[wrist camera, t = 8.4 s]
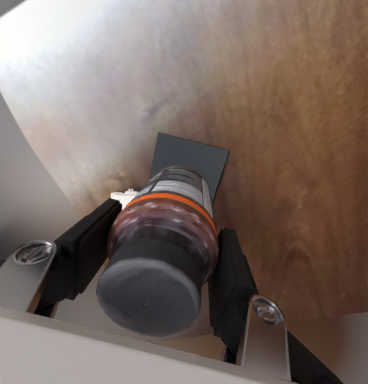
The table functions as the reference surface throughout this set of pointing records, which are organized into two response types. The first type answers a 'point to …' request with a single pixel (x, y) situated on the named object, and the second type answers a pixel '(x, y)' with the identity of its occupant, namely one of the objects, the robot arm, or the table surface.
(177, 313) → the supplement bottle
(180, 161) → the mat
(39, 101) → the table surface
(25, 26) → the table surface
